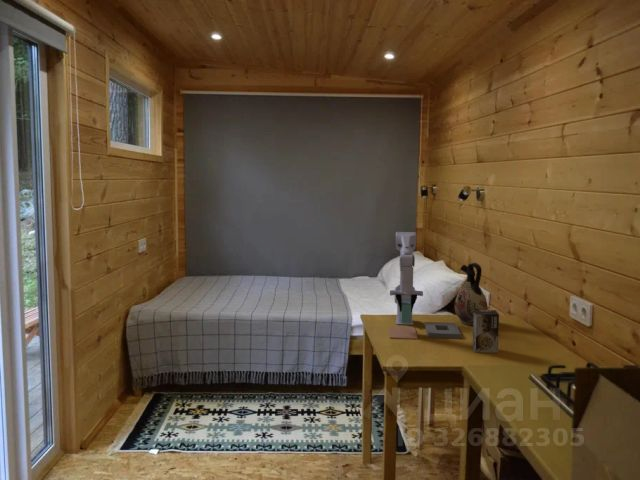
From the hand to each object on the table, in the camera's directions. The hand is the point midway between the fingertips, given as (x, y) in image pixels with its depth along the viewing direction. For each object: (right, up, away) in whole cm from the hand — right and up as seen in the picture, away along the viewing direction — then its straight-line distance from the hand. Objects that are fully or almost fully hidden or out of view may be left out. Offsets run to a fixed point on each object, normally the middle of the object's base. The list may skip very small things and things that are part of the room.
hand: (405, 311), depth 238 cm
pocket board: (+17, -10, +3) cm, 20 cm away
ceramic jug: (+34, -8, +18) cm, 40 cm away
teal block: (0, -4, 0) cm, 4 cm away
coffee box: (+29, -13, -22) cm, 38 cm away
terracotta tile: (-1, -10, +1) cm, 10 cm away
